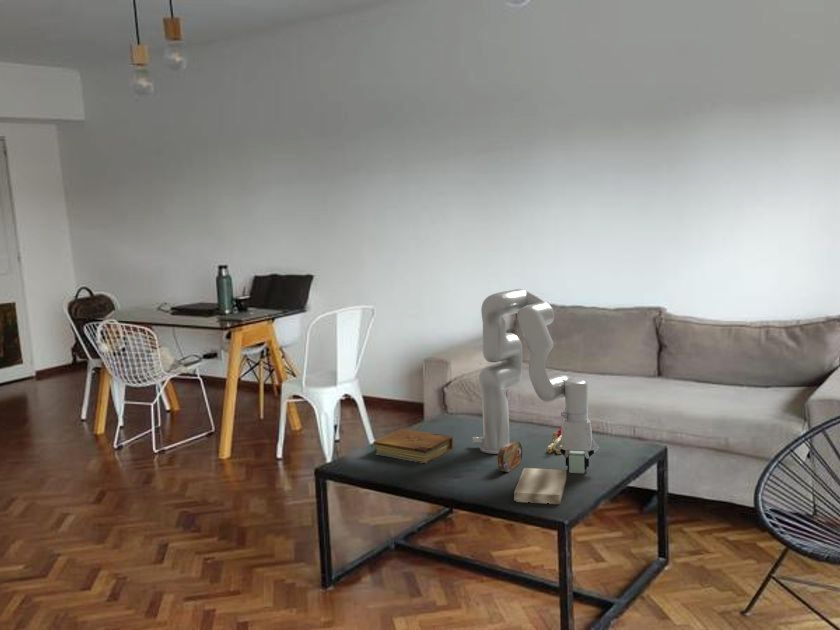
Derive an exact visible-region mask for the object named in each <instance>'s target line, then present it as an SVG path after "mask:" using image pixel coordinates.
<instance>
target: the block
mask: <svg viewBox="0 0 840 630" xmlns="http://www.w3.org/2000/svg"><path fill="white" fill-rule="evenodd" d="M584 459H585V453H584V451H571V450H570V451H569V469H568V473H571V474H585V472H586V470H585V468H584Z"/></svg>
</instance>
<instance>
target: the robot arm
mask: <svg viewBox="0 0 840 630" xmlns="http://www.w3.org/2000/svg"><path fill="white" fill-rule="evenodd" d="M480 312H481V320H482V354H483V355H482V356H483V359H485V361H487V362H488V363H495V364H493V365H492V364H491V365H488V366H486V367H484V368H483V369H482V370H481V371H480V373H479V375H478V386H479V389H480V394H481V402H482V403H481V405H482V428H483V430H482V431H483V436H480V437H479V436H472V441H471V442H472V443H474V444H475V445H476V444H478V445H479V444H480V445H479V450H480V452H483V453H486V454H491V455H492V454H493V455H498V453H499V450H500V449H501V448H502V447H504V446H505V445H507V444H508V443H509V442H511V441H510V418H509V417H510V413H509V400H508V397H507V395H506V393H505V391H504V390H506V389H508V388H511V387H514V386H517V385H518V384H519V383H520V382H521V380H522V378H523V345H522V341H521V339H520V338H519V337H518V335H516V334H515V333H512V332H507V323H506V320H505V318H504V316H510V315H515V314H516V318H517V322H518V324H519V327H520V330H521V332H522V335H523V338H524V340H525V342H526V345H527V348H528V350H529V353H530V356H529V362H528V363H529V364H528V376H529V379H530V382H531V385H532V387H533V390H534V392H535V394H536V395H537V397H538V398H539V400H541V401H543V402H545V403H550V402H553V401H556V400H559V399H563V398H564V411H563V412H562V411H561V412H560V417H562V418H563V420H562V424H561V428H562V433H561V439H560V440H559V442H558V443H557V444H556V445H555V448H556V449H557V450H559V451H560V452H561V453H562V454H561V455H563V456H564V457H565V466H567V467H566V468H567V470H569V454H570V451H584V453H585V459H584V468H585V471H587V469H588V468H589V466H590V457H592V456H593V454H595V453H596V452H597V451H599V450H600V446H599V445H598V444H597V442H596V441H595V440H594V439H593V429H592V424H591V420H590V419H589V395H588V393H589V392H588V390H589V389H588V383H587V381H586V380H584V379H579V378H574V377H571V376H568V375H565V374H561V375H560V374H559V375H555V376H552V377H549V376H548V374H547V369H546V360H547V357H548V356H549V353H550V352H551V350H552V349H553V348H554V340H553V339H552V337H551V334H550V331H549V329H548V326H549V325H551V324H553V322H554V320H555V312H554V309H553V307H552V306H551V305H550V304H549V303H548V302H547V301H545V300H543V299H542V298H540V297H538V296H536V295H535V294H533V293H532V292H530V291H528V290H526V289H521V288H517V289H512V290H504V291H500V292H495V293H493V294H490V295H488V296H487V297H485V299H484V300H483V302H482V305H481V311H480ZM498 362H499V363H498ZM500 362H501V363H500ZM560 445H561V446H560ZM592 447H593V448H592Z"/></svg>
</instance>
